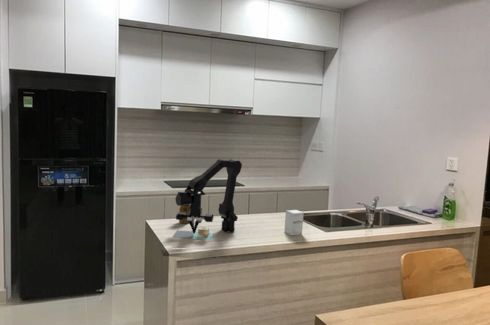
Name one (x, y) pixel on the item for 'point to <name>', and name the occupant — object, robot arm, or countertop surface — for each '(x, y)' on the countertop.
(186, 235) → the runner mat
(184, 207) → the condiment
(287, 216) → the supplement box
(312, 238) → the countertop surface
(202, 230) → the beech block
